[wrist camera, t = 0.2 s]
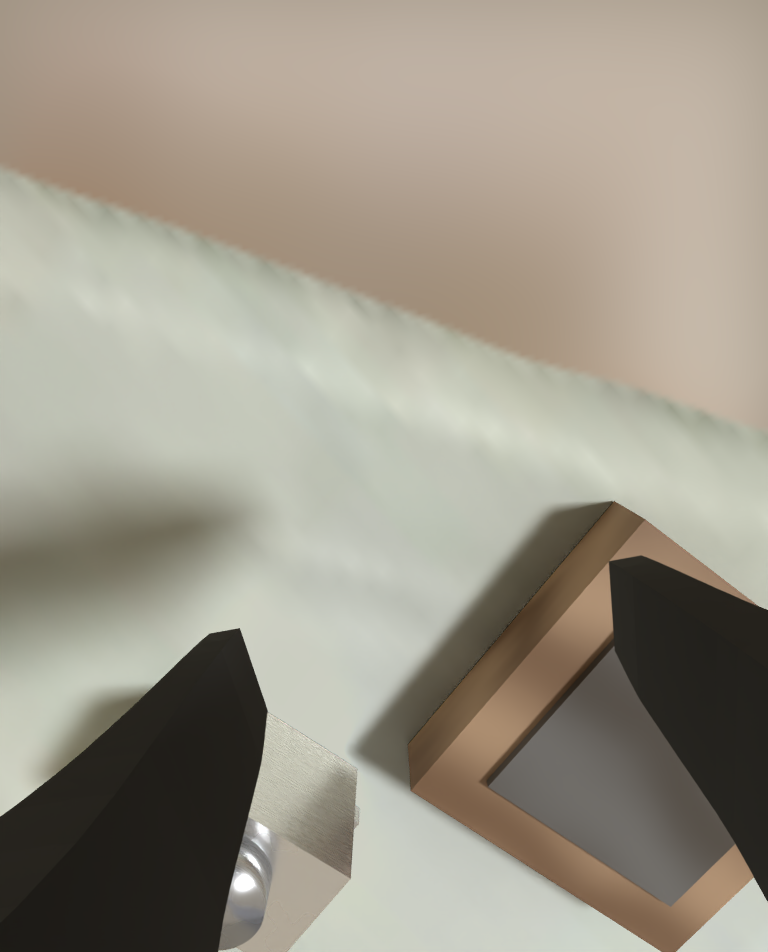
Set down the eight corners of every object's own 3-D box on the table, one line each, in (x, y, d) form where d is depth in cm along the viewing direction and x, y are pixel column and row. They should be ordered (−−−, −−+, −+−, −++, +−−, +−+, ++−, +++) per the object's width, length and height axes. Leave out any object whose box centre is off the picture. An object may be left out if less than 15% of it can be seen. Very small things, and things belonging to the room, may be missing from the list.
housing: (317, 857, 24) (295, 1025, 18) (133, 744, 23) (41, 883, 17) (380, 783, 23) (379, 933, 17) (192, 663, 22) (120, 778, 16)
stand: (641, 897, 24) (674, 965, 22) (407, 744, 23) (411, 796, 20) (854, 684, 22) (921, 730, 19) (614, 501, 21) (649, 521, 18)
